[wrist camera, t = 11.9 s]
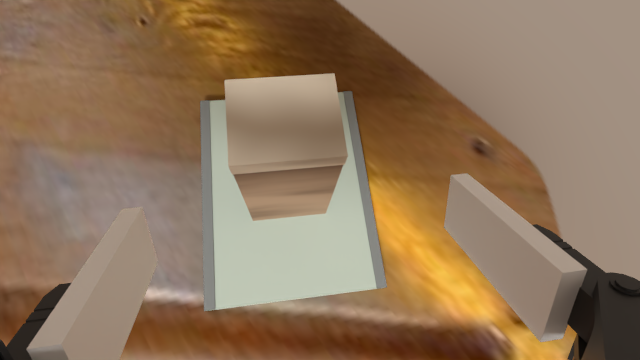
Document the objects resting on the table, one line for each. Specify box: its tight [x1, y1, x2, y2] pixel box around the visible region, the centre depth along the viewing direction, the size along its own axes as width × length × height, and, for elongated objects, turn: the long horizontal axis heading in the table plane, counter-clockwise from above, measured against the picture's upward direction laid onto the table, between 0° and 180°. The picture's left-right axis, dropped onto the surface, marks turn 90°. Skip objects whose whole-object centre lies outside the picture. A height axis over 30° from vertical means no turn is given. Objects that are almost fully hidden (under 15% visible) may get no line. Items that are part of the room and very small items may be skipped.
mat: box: [200, 91, 387, 311], centre depth 31 cm, size 18×14×1 cm
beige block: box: [225, 73, 348, 221], centre depth 25 cm, size 5×6×12 cm
